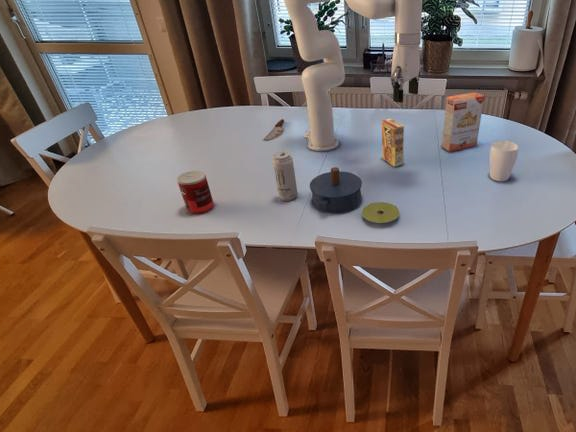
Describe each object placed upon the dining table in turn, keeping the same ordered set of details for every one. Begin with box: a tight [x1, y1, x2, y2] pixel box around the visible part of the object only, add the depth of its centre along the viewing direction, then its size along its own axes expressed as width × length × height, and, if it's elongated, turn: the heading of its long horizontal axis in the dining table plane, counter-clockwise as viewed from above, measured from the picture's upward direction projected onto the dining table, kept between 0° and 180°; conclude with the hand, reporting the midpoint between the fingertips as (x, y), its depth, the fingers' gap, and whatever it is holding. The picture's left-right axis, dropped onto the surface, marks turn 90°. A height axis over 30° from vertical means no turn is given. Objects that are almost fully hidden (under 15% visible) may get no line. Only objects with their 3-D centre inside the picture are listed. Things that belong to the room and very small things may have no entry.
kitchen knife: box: [263, 118, 285, 141], centre depth 174 cm, size 21×2×5 cm
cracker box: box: [441, 91, 485, 153], centre depth 154 cm, size 14×6×21 cm, turn 117°
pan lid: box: [309, 166, 363, 199], centre depth 121 cm, size 16×16×6 cm
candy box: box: [381, 118, 405, 168], centre depth 145 cm, size 9×4×15 cm, turn 33°
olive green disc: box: [361, 201, 400, 224], centre depth 117 cm, size 11×11×2 cm
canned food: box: [176, 170, 214, 215], centre depth 119 cm, size 8×8×11 cm
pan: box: [311, 189, 362, 214], centre depth 124 cm, size 15×21×6 cm
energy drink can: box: [272, 151, 298, 202], centre depth 123 cm, size 6×6×15 cm
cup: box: [489, 140, 519, 182], centre depth 135 cm, size 9×9×12 cm
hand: (405, 97), depth 123 cm, fingers open, 9 cm apart
